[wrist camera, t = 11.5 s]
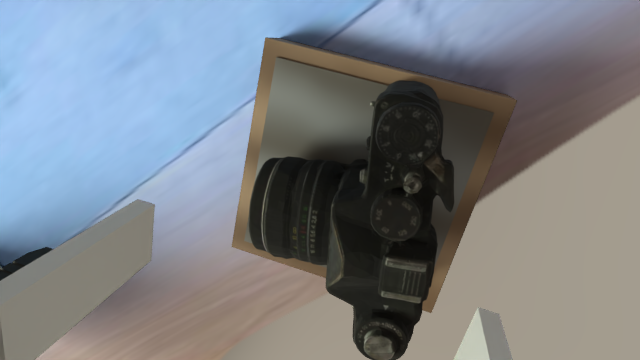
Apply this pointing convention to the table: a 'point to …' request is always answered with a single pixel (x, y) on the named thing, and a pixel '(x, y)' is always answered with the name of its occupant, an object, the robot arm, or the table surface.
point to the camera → (366, 217)
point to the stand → (364, 132)
